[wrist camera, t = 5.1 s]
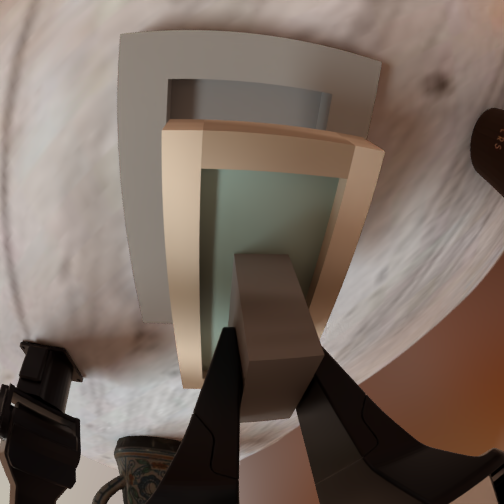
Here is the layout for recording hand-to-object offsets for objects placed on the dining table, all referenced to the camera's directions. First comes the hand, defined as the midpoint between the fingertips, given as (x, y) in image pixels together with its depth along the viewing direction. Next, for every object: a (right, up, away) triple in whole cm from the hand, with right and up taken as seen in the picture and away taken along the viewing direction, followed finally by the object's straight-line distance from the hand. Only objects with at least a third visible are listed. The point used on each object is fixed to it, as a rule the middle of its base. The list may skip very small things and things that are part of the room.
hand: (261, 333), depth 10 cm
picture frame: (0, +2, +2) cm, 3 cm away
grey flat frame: (-1, +6, +8) cm, 10 cm away
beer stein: (-21, -35, +36) cm, 55 cm away
